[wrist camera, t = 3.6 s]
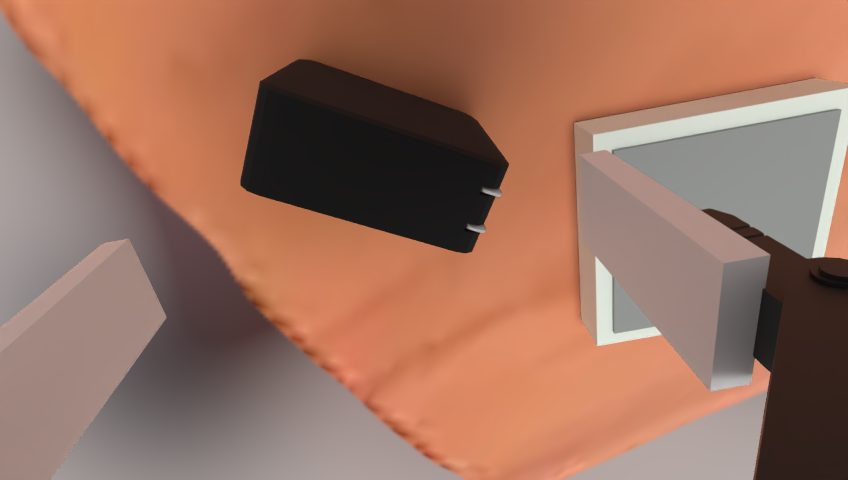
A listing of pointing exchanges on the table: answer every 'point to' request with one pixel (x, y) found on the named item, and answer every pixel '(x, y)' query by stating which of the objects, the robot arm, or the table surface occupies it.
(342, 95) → the electronic device
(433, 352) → the table surface
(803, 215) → the stand
